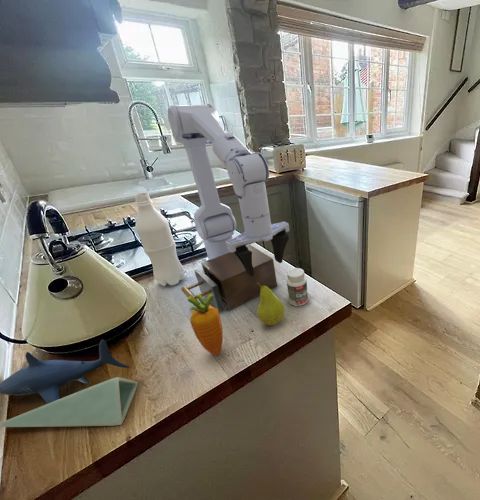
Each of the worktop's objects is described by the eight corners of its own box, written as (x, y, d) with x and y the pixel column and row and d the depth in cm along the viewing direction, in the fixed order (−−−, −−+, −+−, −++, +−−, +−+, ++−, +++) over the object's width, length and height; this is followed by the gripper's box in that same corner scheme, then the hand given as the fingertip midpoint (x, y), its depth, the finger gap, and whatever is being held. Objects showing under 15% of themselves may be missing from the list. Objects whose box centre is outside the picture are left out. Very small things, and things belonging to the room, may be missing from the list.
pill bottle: (298, 309, 71) (295, 280, 67) (285, 301, 74) (281, 273, 70) (312, 299, 75) (309, 271, 71) (299, 292, 77) (296, 265, 73)
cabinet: (229, 310, 71) (221, 280, 67) (209, 290, 78) (201, 262, 74) (277, 286, 80) (273, 258, 76) (255, 270, 87) (250, 244, 83)
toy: (43, 378, 58) (-1, 345, 53) (147, 348, 57) (113, 311, 52) (-1, 428, 50) (-58, 394, 45) (120, 393, 49) (75, 355, 44)
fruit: (289, 315, 69) (283, 272, 64) (279, 332, 64) (272, 288, 59) (266, 312, 70) (258, 269, 65) (255, 329, 65) (245, 285, 60)
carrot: (234, 346, 61) (218, 287, 54) (223, 365, 57) (203, 304, 50) (211, 344, 62) (192, 285, 54) (198, 364, 57) (176, 302, 50)
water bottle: (174, 289, 79) (141, 200, 67) (151, 286, 80) (115, 198, 68) (192, 275, 85) (165, 190, 73) (170, 272, 86) (140, 189, 74)
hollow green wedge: (-4, 376, 46) (129, 358, 51) (14, 402, 49) (138, 383, 54) (-48, 425, 39) (110, 399, 44) (-25, 453, 42) (122, 425, 47)
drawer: (199, 320, 67) (191, 296, 64) (182, 300, 73) (174, 277, 70) (265, 287, 78) (261, 265, 74) (245, 273, 84) (240, 252, 81)
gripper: (232, 229, 56) (245, 287, 62) (294, 208, 65) (300, 261, 71) (216, 219, 60) (229, 274, 67) (276, 201, 69) (283, 252, 76)
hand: (265, 267), depth 69 cm, fingers open, 7 cm apart
